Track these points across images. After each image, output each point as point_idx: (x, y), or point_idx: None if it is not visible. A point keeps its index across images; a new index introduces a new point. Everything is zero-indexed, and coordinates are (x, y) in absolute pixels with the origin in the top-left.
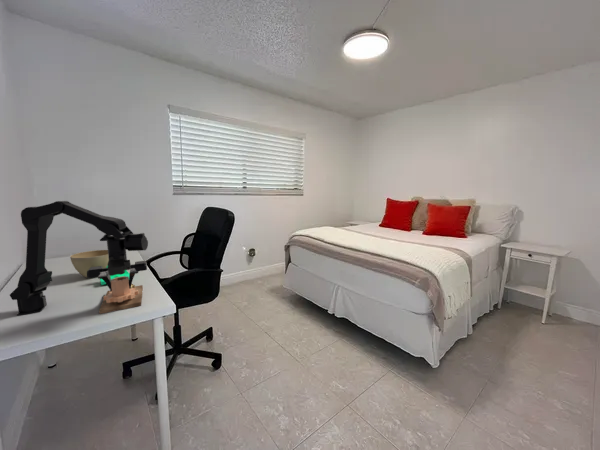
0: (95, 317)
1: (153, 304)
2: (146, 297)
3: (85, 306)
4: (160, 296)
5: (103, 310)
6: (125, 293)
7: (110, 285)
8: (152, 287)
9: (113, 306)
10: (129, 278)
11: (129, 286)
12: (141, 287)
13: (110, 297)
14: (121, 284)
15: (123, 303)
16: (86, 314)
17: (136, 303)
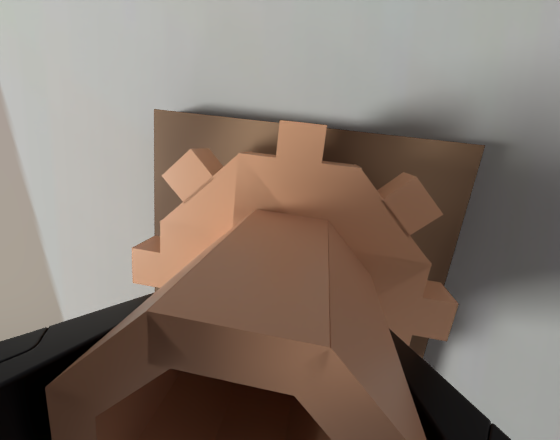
0: (505, 83)
1: (90, 77)
2: None
3: (530, 382)
4: (55, 217)
5: (444, 141)
6: (239, 222)
7: (415, 383)
8: None
9: (364, 156)
10: (24, 371)
11: None
12: None
13: (393, 231)
14: (227, 269)
15: None
16: (554, 207)
17: (190, 114)
